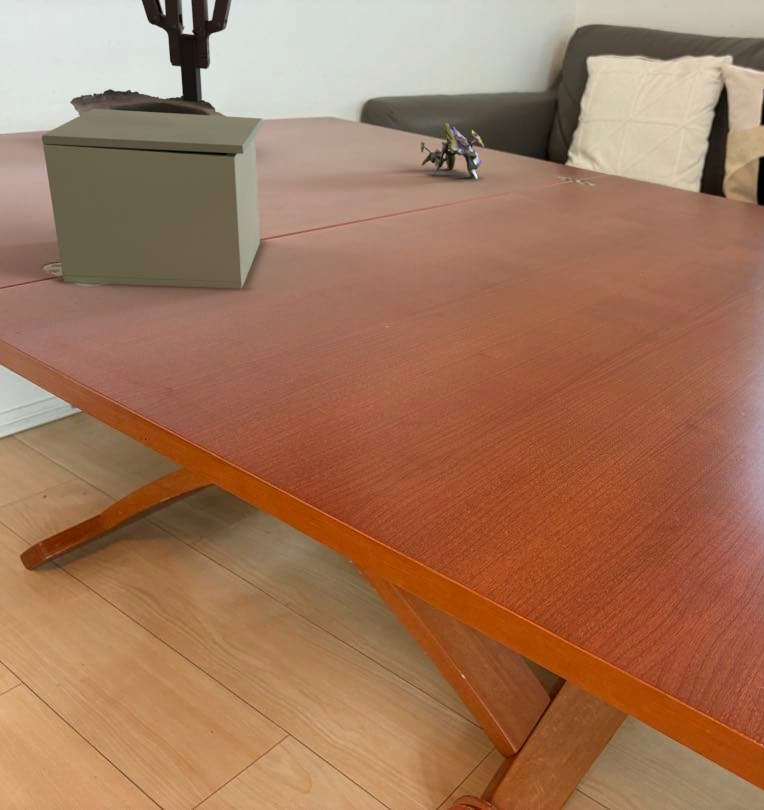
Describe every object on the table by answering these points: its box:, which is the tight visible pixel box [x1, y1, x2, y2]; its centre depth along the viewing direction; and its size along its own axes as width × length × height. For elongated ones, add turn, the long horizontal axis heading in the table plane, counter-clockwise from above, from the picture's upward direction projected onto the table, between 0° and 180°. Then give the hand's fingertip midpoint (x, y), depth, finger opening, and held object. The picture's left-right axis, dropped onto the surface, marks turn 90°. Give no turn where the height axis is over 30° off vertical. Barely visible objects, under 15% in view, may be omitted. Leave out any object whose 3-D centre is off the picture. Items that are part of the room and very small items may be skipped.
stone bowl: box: [69, 88, 226, 116], centre depth 150 cm, size 25×25×9 cm
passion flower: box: [420, 122, 486, 180], centre depth 157 cm, size 11×11×12 cm
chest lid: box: [41, 109, 263, 154], centre depth 93 cm, size 19×18×1 cm
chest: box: [42, 136, 261, 290], centre depth 97 cm, size 18×18×14 cm
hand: (192, 99), depth 92 cm, fingers closed
